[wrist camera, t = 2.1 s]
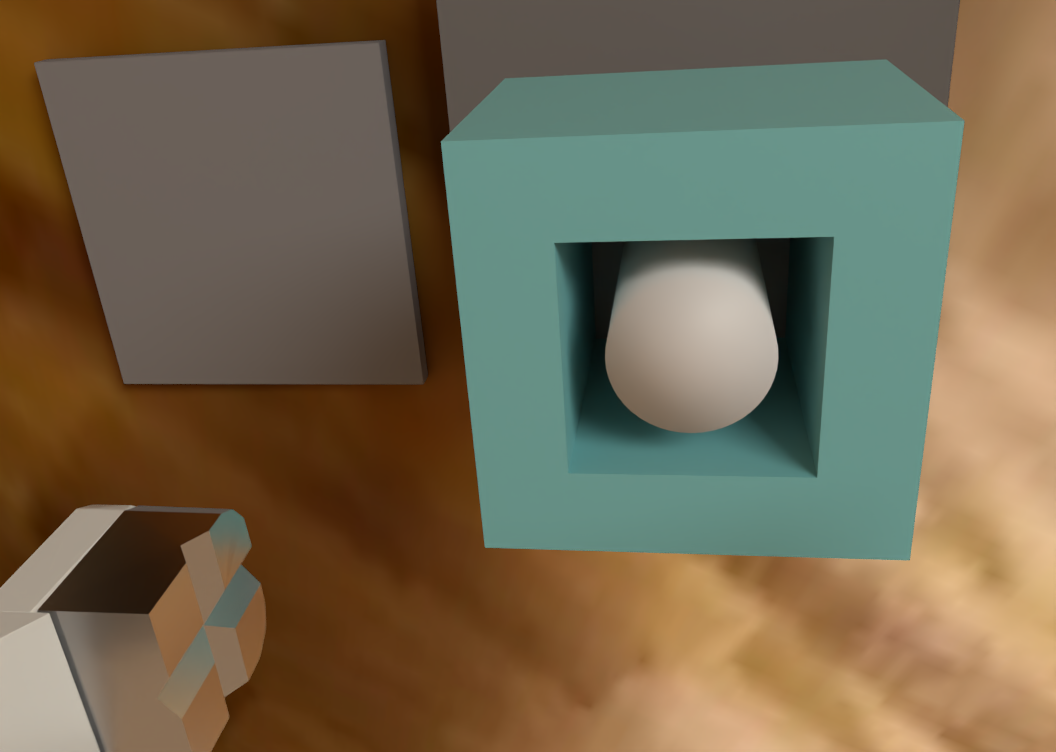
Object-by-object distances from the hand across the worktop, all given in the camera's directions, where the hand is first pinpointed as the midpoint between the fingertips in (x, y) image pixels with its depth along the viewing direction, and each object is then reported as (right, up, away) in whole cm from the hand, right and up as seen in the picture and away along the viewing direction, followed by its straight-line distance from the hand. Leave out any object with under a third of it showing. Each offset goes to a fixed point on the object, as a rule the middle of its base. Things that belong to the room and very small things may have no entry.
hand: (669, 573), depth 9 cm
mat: (-10, +6, +20) cm, 23 cm away
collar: (+2, +4, +9) cm, 10 cm away
